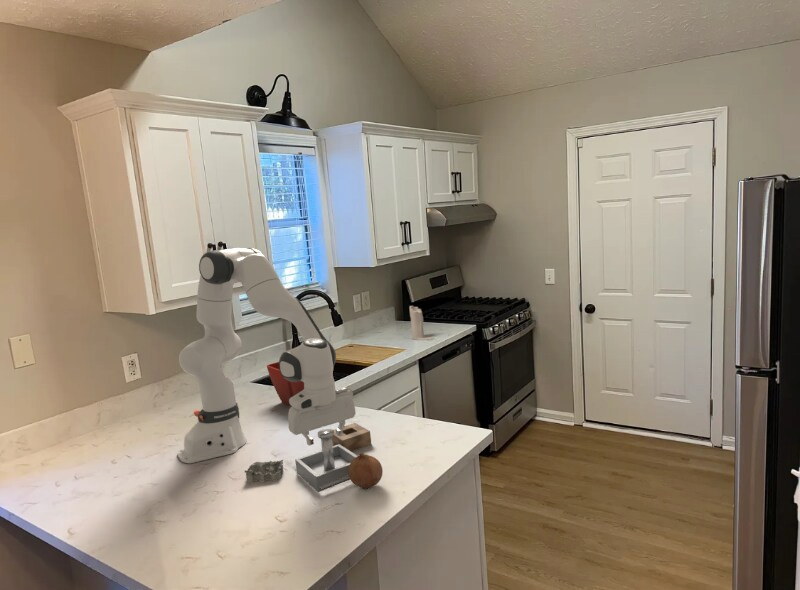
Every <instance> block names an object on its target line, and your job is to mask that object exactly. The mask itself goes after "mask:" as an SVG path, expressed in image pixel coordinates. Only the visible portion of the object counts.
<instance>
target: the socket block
mask: <svg viewBox="0 0 800 590" xmlns="http://www.w3.org/2000/svg"><path fill="white" fill-rule="evenodd" d="M335 429H338V427H337V428H334V429H333V430H334V436H333V437H332V444H333V446H335V445H338V444H340V445H342V446H343V447H345V448H346V449H348V450H349V451H351V452H352V453H353V452H354V451H357V450H360V449H363V448H365V447H368V446H371V445H372V437H371V431H370V430H369V429H368V428H365V427H363V426H362V425H360V424H358V423H356V422H353V423H350V424H346V425H344V428H343V430H342V431H343V435H340V436H337V435H336V430H335Z"/></svg>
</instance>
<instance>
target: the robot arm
mask: <svg viewBox="0 0 800 590" xmlns="http://www.w3.org/2000/svg"><path fill="white" fill-rule="evenodd" d="M198 263H199V264H198V271H199V274H200V277H199V281H198V287H197V297H196V298H197V299H196V316H195V317H196V320H197V322H198V323H199V324H201V325H202V326H203V328H204V336H203V337H202V338H199V339H198V340H195V341H192V342H190V343H189V344H188V345H186V346H185V347H184V348H183V349H181V350H180V352H179V355H178V363H179V366H180V368H181V369H182V370H183V372H184V373H185V374H188V375H190V376H191V377H192V378H193V380H194V381H195V382H196V384H197V387H198V390H199V393H200V394H199V395H200V399H201V405H202V408H201V409H200V410H199V409H195V410H194V411H193V415H194V416H195V417H197V422H195V424H194V425H193V426H192V427H191V428H190V429H189V430H188V431H187V432H186V433H185V435H184V438H183V447H180V448H179V449H178V451H177V456H178V457H177V458H178V459H179V461H181V462H182V463H186V464H193V463H197V462H202V461H206V460H210V459H214V458H219V457H223V456H227V455H231V454H235V453H236V452H237V451H238V449H239V448H241V447H242V446H244V445H245V444H246V442H247V438H246V436H245V433H244V432H243V428H242V425H241V421H240V409H239V404H238V402H237V400H236V393H235V385H234V381H233V380H232V379H231V378H229V377H226V375H225V374H224V371H223V369H222V366H223V365H225V364H227V363H229V362H231V361H233V360H234V359H235V358H236V357H237V356H238V355H239V354H240V353H241V351H242V348H243V347H242V346H243V344H242V343H243V342H242V339H241V338H240V336H239V335H238V334H237V333H235V330H234V326H233V321H232V311H233V310H232V309H233V293H234V292H233V291H234V289H233V288H234V284H238V283H240V284H241V285H242V287H243V290H244V292H245V295H246V297H247V300H248V301H249V303H250V305H251V307H252V308H253V310H255V312H257V313H258V314H261V315H263V316H266V317H272V318H280V319H283V320H286V321H288V322H290V323H291V324H293V325H294V326H295V328H296V330H297V331H298V333H299V334H300V336H301V337H302V338H303V341H302V342H301V344H300V345H298V346H296V347H293V348H290V349H288V350H286V351H284V352H282V354H281V355H280V356H279V360H278V362H279V370H280V373H281V375H282V376H283V377H284V378H285V379H286V380H288V381H290V382H298V381H303V382H304V390H302V391H301V392H299V393H298V394H296V395H294V396H293V397H291V398H290V399H289V403H290V405H291V406H292V407H291V406H290V408H289V409H288V415H287V418H288V419H287V421H288V422H287V424H288V429H289V432H291V434H293V435H295V436H298V435H303V437H304V438H305V441H306V445H308V446H309V447H310V446H312V445H314V444H315V443H314V438H313V437H311V436H310V437H309V435H310V431H314V430H317V429H321V428H324V427H328V426H331V425H333V424H337V423H338V427H337V428H338V429H337V428H334V429H335V430H336V435H337V436H340V435H343V431H342V430H343V428H344V426H346V420H351V419H353V418H354V417H355V416H356V407H355V403H354V400H353V399H354V392H353V390H352V389H351V388H349V387H343V388H341V389H340V388H339V389H336V382H335V379H334V376H333V371H334V366H335V364H336V360H337V354H336V351H335V350H336V349H335V348H334V347H333V345H332V344H331V343H330V342H329V341H328V340H327V338H326V337H325V336H324V335H323V333H322V332H321V330H320V329H319V327H318V326H317V324H316V322H315V321H314V319H313V317H312V315H310V313H309V312H308V310H307V309H306V307H305V305H304V304H303V303H302V302H301V301H300V300H299V299H298V298H297V297H295V296H293V295H292V294H291V293H290V292H289V291H288V290H287V289H286V287H285V285H284V284H283V283H282V281H281V278H280V276H279V274H278V273H277V271H276V270H275V268H274V266H273V265H272V264H271V262H270V261H269V260H268V258H267V257H266V256H265V255H264V254H263V252H261V251H260V250H258V249H256V248H252V247H251V248H250V247H247V248H242V247H232V248H225V249H220V250H217V249H215V250H211V251H207V252H204V253H203V255H202V256H201V257H200V260H199V262H198Z"/></svg>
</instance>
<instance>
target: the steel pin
mask: <svg viewBox="0 0 800 590" xmlns="http://www.w3.org/2000/svg"><path fill="white" fill-rule="evenodd" d="M333 436H334V429H331V428H325V429H324V428H323V429H321V430H319V431H318V432H317V438H318V439H320V442H321V450H322V454H323V461H322V462H323V470H324V472H326V471H329V470H332V469H334V468H336V466H335V465H336V464H335V457H334V454H333V444H332V437H333Z"/></svg>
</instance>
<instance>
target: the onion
mask: <svg viewBox="0 0 800 590" xmlns="http://www.w3.org/2000/svg"><path fill="white" fill-rule="evenodd" d="M349 463H350V462H349ZM383 472H384V471H383V466H382V463H381V462H380V461H379V459H377V458H376V457H374V456H372V455H369V454H365V453H364V452H361V453H359V454H358V455H357V457H356V458H354V459H353V460H352V461H351V463H350V465H349V469H348V474H349V475H348V478H350V480H349V481H351V483H352V484H354V485H355V486H356V487H358V488H360V489H362V490H369V489H372V488H373V487H375V486H376V485H378V483H379V482H380V481H381V479H382V477H383Z"/></svg>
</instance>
